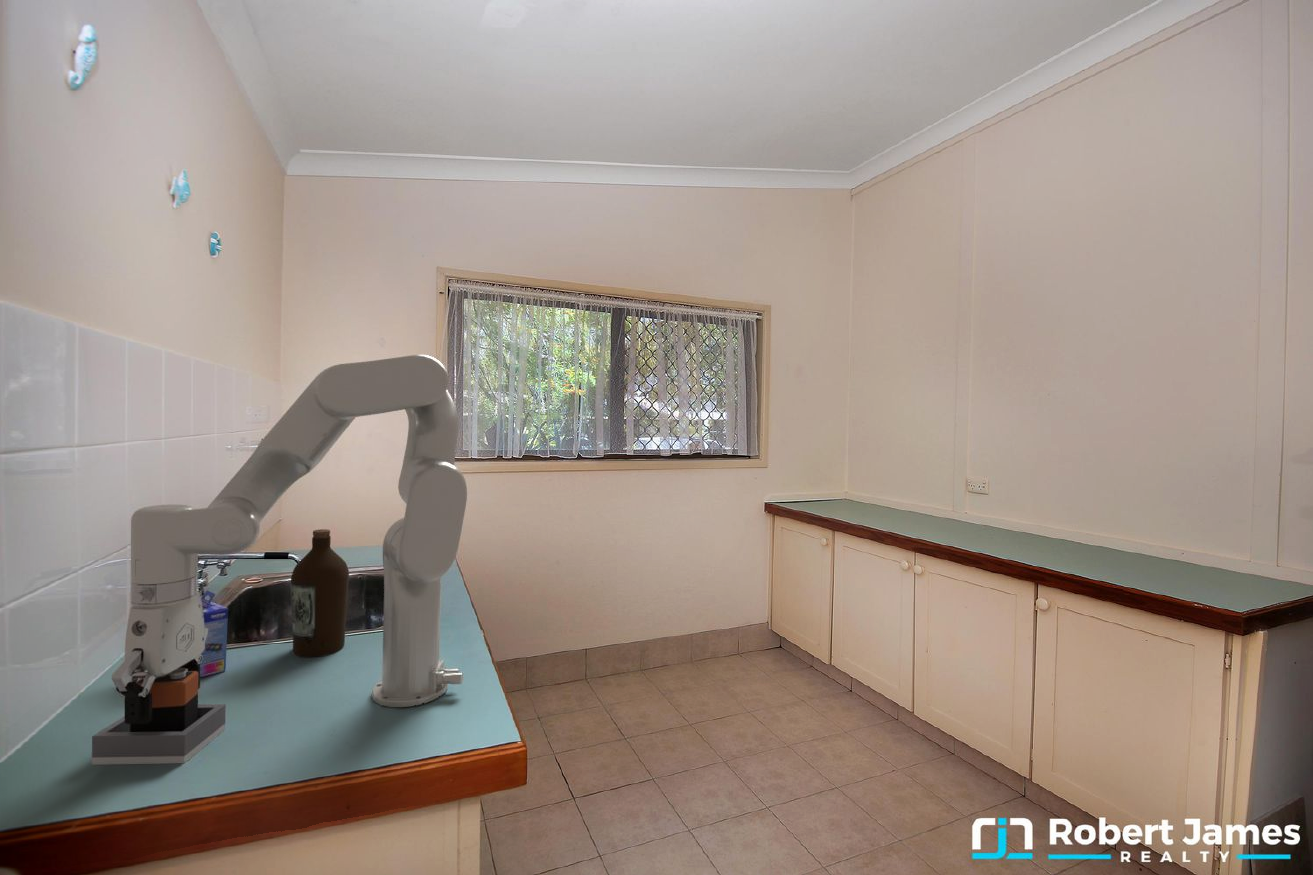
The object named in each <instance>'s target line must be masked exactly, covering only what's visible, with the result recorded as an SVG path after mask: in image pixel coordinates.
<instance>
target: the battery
mask: <svg viewBox="0 0 1313 875" xmlns="http://www.w3.org/2000/svg"><path fill="white" fill-rule="evenodd" d="M144 679H145V678H139V679H138V680H137V682H136V683H137V684H139V685H140V686H142V684H143V681H144ZM148 693H152V721H150V722H149V723H147V724H130V732H182V731H184V730H185V729H186V728H188V727H189V726H190V725H192V724H193V723H194V722H196V721H197V720H198V704H199V689H198V672H197V671H188V669H185V668H179V669H176V670H175V671H173V672H171V673H169V674H168V675H166V676H163V677H155V680H154V682H153V684H152V686H151V688H150V690H149V692H148Z"/></svg>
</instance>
